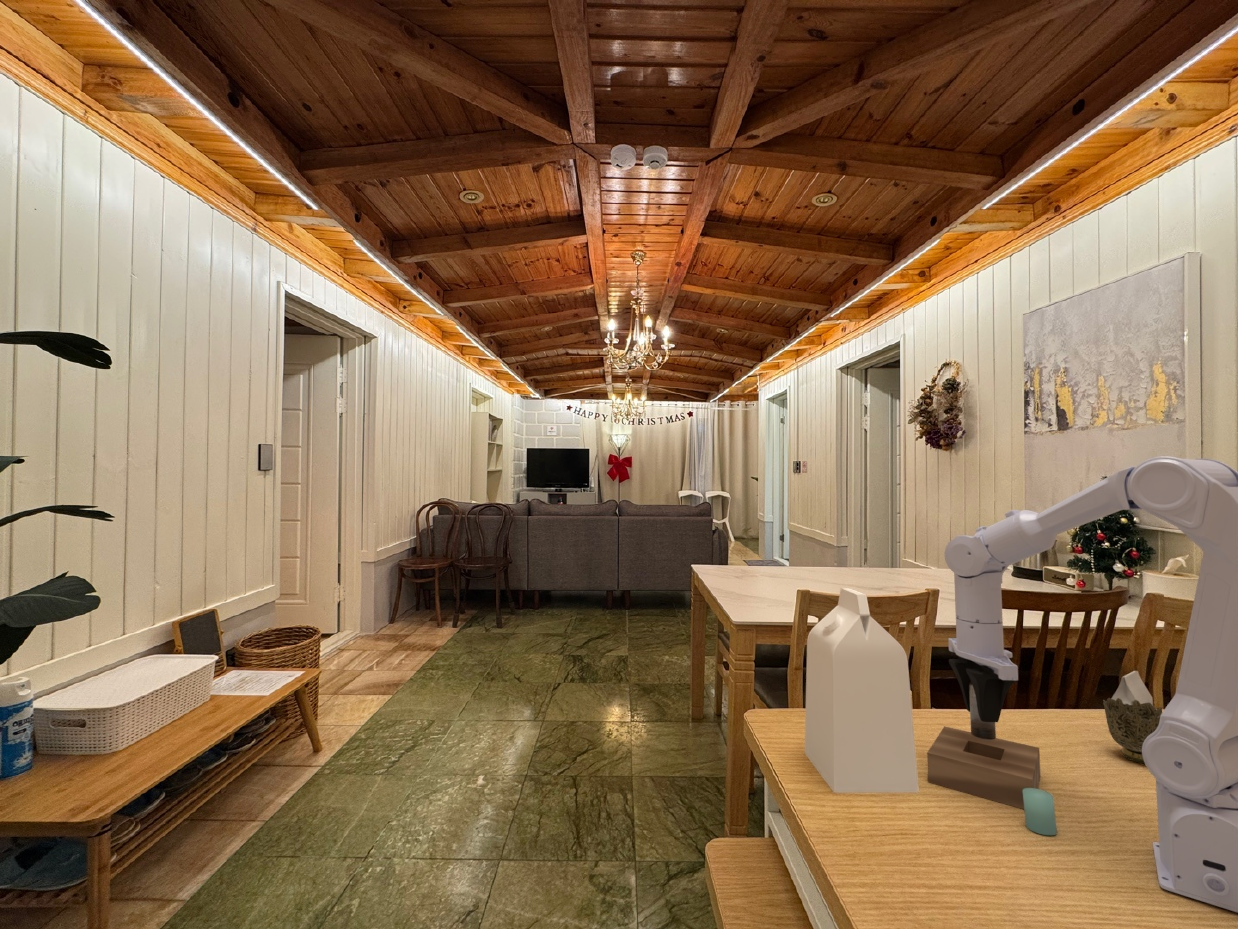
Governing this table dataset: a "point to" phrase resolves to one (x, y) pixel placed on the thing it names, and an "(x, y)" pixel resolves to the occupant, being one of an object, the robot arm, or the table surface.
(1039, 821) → the short pin
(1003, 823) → the table surface
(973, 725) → the tall pin
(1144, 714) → the cup
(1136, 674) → the grey wedge block
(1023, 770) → the hole block
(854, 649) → the milk
